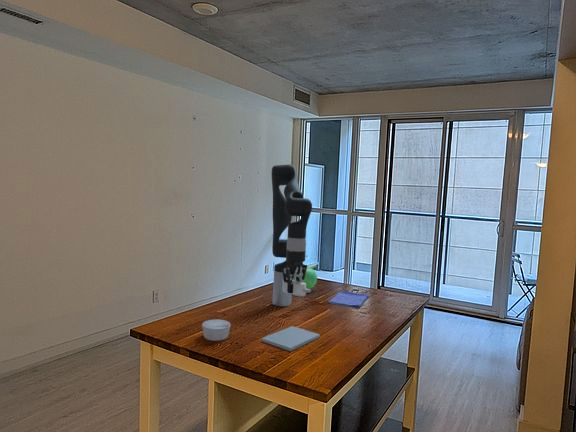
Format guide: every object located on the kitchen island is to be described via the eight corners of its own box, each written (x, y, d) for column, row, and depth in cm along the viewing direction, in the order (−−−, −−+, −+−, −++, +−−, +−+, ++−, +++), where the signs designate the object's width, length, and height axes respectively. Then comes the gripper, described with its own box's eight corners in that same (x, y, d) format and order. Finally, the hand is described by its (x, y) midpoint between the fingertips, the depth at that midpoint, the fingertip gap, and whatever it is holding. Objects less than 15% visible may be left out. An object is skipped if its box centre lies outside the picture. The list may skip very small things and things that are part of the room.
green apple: (283, 291, 244) (284, 266, 243) (288, 284, 260) (289, 260, 259) (314, 294, 241) (316, 268, 240) (317, 287, 258) (319, 263, 256)
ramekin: (217, 344, 160) (217, 330, 160) (195, 337, 166) (195, 324, 166) (235, 336, 170) (236, 323, 169) (214, 329, 176) (215, 317, 175)
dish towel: (369, 298, 239) (369, 293, 239) (359, 309, 218) (360, 304, 217) (339, 294, 246) (339, 289, 246) (327, 304, 224) (327, 299, 224)
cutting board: (292, 328, 182) (292, 326, 181) (319, 337, 173) (319, 334, 173) (261, 341, 166) (261, 338, 166) (290, 351, 157) (290, 348, 157)
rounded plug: (286, 289, 173) (287, 278, 173) (312, 295, 165) (313, 284, 165) (280, 291, 169) (280, 280, 169) (306, 297, 162) (306, 286, 161)
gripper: (298, 246, 175) (296, 287, 176) (277, 249, 163) (275, 293, 165) (314, 248, 170) (311, 290, 171) (293, 252, 159) (290, 297, 160)
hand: (293, 291), depth 168 cm, fingers closed on rounded plug, 4 cm apart
